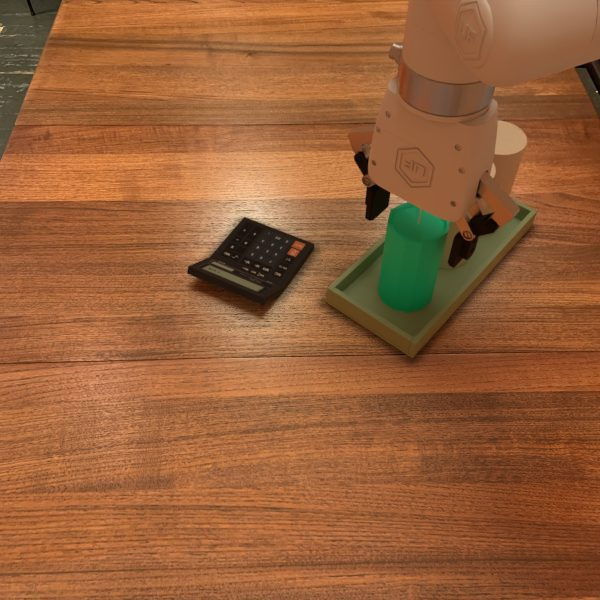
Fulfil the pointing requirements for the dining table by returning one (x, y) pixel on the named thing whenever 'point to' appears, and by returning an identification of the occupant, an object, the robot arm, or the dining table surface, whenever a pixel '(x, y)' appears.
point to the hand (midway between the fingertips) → (416, 235)
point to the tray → (446, 296)
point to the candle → (411, 257)
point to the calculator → (254, 261)
